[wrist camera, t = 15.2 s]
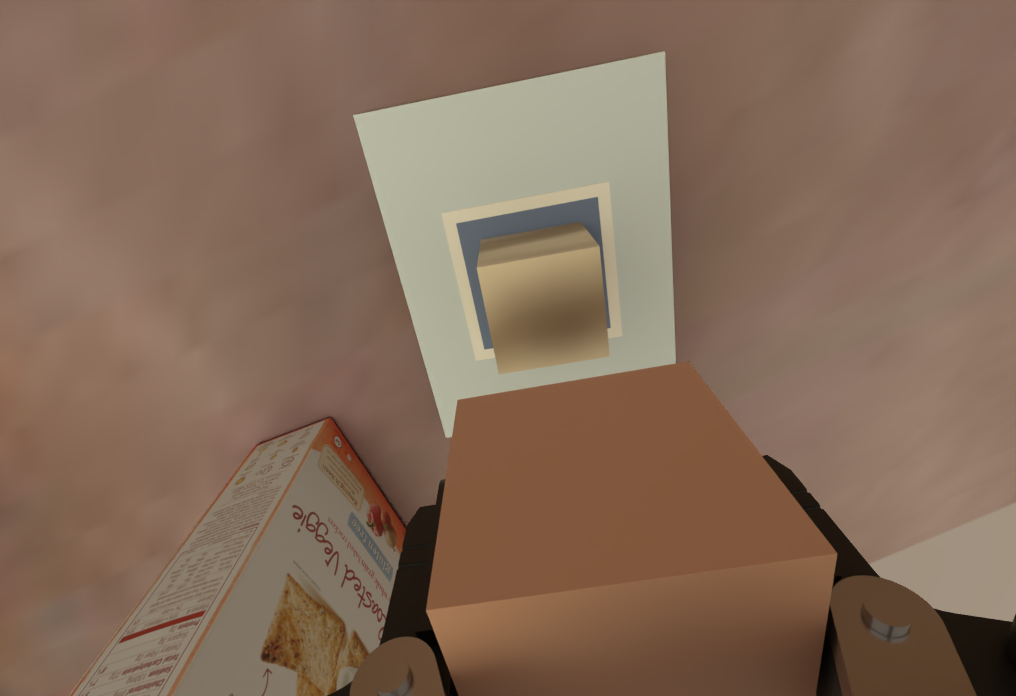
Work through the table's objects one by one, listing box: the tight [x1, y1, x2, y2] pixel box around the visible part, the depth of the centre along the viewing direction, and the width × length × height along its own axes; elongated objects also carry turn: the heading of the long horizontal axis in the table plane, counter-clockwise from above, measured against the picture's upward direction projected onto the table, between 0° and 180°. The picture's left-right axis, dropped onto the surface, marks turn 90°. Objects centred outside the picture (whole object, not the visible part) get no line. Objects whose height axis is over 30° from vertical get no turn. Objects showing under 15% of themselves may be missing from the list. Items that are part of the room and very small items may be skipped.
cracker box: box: [69, 418, 406, 696], centre depth 24 cm, size 14×6×21 cm, turn 22°
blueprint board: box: [353, 51, 676, 438], centre depth 26 cm, size 18×14×1 cm
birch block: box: [477, 222, 610, 374], centre depth 23 cm, size 5×5×5 cm
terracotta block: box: [426, 361, 837, 696], centre depth 9 cm, size 5×5×5 cm
